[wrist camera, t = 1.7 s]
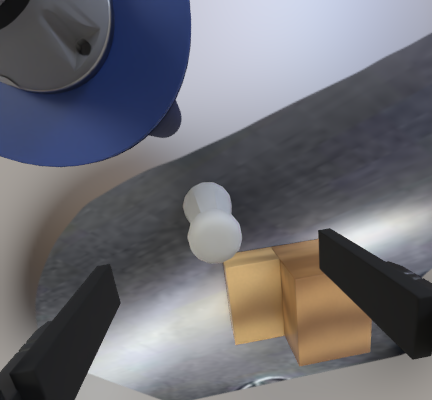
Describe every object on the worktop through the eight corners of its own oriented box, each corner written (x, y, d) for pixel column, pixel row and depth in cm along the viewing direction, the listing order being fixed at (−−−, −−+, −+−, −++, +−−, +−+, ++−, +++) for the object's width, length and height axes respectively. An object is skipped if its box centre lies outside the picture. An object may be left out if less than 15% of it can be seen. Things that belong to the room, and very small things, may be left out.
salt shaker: (196, 229, 30) (198, 289, 18) (176, 191, 29) (162, 227, 16) (235, 210, 30) (265, 256, 17) (217, 171, 29) (235, 192, 16)
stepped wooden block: (221, 255, 31) (230, 290, 24) (331, 236, 32) (374, 265, 25) (231, 325, 34) (242, 378, 27) (331, 306, 35) (370, 352, 28)
